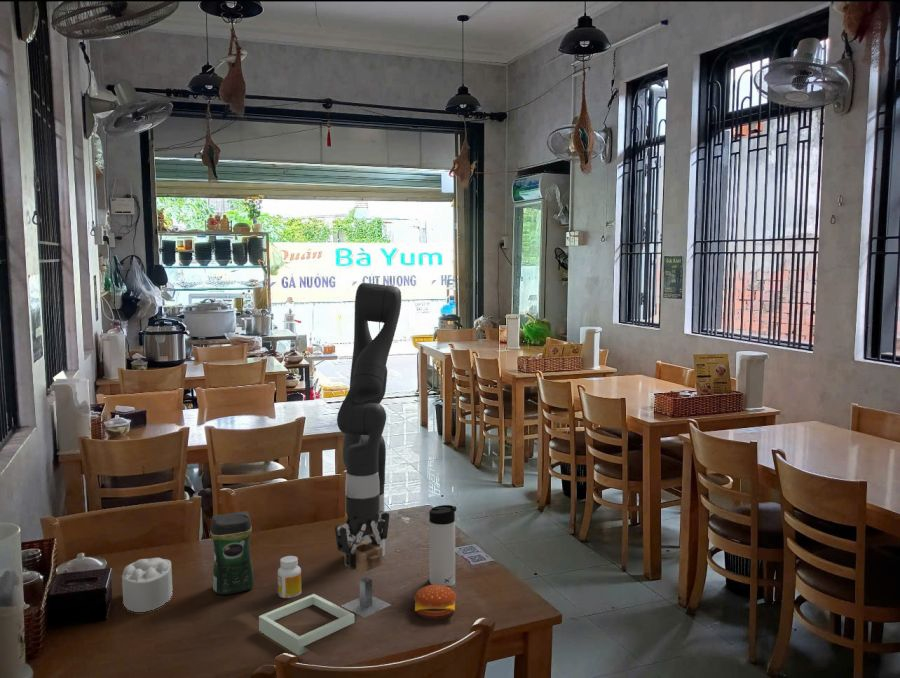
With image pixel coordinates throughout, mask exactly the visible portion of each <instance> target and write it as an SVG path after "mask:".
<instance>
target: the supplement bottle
mask: <svg viewBox="0 0 900 678" xmlns="http://www.w3.org/2000/svg"><path fill="white" fill-rule="evenodd" d="M279 564H280V567H278V569H277V595H278V596H279V597H280V598H284V599H291V598H296V597H298V596H300V595H301V594H302V568H301V567H300V566H299V558H298V556H295V555H287V556H283V557H281V558H280V560H279Z"/></svg>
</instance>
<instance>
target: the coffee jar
mask: <svg viewBox="0 0 900 678" xmlns="http://www.w3.org/2000/svg"><path fill="white" fill-rule="evenodd" d="M210 522H211V523H210V524H211V525H210V531H209V532H210V537H211V540H212V542H213V571H212V589H213V591H214V592H215V593H216V594H218V595H230V594H235V593H241V592H246V591H249V590H250V589H252V588H253V587H254V586H255V576H254V568H253V567H254V566H253V561H252V555H251V546H250V543H251V542H250V538H251V534H252V531H253V530H252V529H253V528H252V523H251V518H250V515H249V512H248V511H246V510H244V511H237V512H229V513H224V514H222V513H221V514H214V515H212V517H211V521H210Z"/></svg>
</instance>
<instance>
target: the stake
mask: <svg viewBox="0 0 900 678" xmlns="http://www.w3.org/2000/svg"><path fill="white" fill-rule="evenodd" d="M358 588H359V597H357V598H356V599H353V600H350V601H348V602H347V603H344V604H341V605H340V606H341V608H343V609H345V610H347V611H349V612H351V613H353V614H355V615H357V616H360V617H362V618H367V617H368V616H370V615H373V614H375V613H377V612H379V611H381V610H383V609H387V608H388V607H390V606H392V604H390V603H389V602H386V601H384V600H383V599H381V598H378V597H375V596H373V579H372V578H370V577H368V576H365V577H362V578H360V579H359V587H358Z"/></svg>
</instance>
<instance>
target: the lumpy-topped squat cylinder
mask: <svg viewBox="0 0 900 678" xmlns="http://www.w3.org/2000/svg"><path fill="white" fill-rule="evenodd" d="M172 571H173V570H172V561H171V560H170V559H168V558H166V559H165V558H161V557H151V558H140V559H137V560H136V561H134V562H132V563H130V564H128V565H126V566H125V567H124V569H123V572H122V575H121V587H122V605H123V604H124V606H125V607H126V608H127V609H128V610H131V611H134V612H146V611H150V610H153V611H155V610H154V609H156V608H158V607H160V606H162V605H164V604H165V603H166V602H168V601H169V600H170V601H171V599H172V597H173V592H172V591H173V575H172V574H173V572H172ZM171 596H172V597H171ZM170 598H171V599H170ZM170 601H169V602H170ZM169 602H168V603H169ZM165 605H166V604H165ZM165 605H164V606H165ZM124 606H123V607H124ZM162 607H163V606H162ZM160 608H161V607H160ZM158 609H159V608H158ZM128 610H127V611H128ZM156 610H157V609H156ZM150 612H151V611H150Z"/></svg>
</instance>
